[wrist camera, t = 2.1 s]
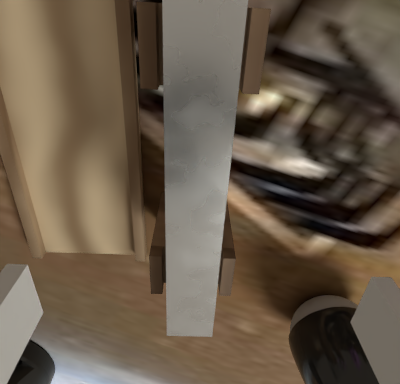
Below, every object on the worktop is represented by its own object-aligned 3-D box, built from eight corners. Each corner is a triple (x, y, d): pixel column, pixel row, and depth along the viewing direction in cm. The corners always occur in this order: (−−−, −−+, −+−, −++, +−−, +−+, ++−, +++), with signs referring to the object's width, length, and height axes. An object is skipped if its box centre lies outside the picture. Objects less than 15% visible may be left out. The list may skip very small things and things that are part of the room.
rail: (170, 299, 27) (167, 335, 24) (168, -46, 15) (161, -60, 12) (210, 299, 27) (212, 336, 24) (242, -42, 15) (253, -54, 12)
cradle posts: (162, 224, 33) (151, 293, 25) (157, 3, 22) (136, 1, 15) (222, 226, 33) (230, 295, 25) (245, 8, 23) (270, 8, 15)
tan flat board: (38, 249, 34) (32, 258, 33) (-58, -81, 20) (-74, -87, 19) (146, 252, 35) (145, 261, 34) (128, -70, 20) (124, -75, 19)
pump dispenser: (264, 317, 41) (295, 463, 28) (322, 269, 36) (392, 417, 23) (318, 343, 44) (370, 487, 31) (378, 303, 39) (468, 449, 26)
